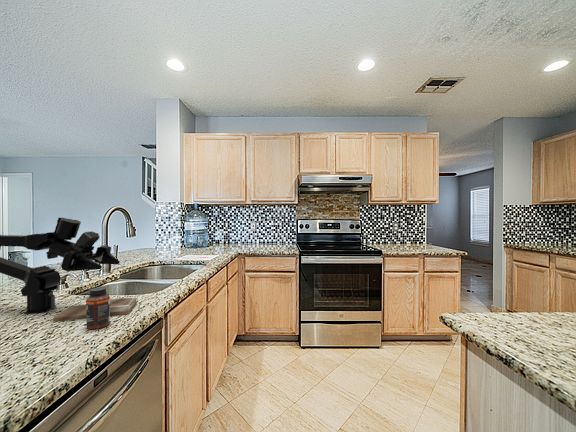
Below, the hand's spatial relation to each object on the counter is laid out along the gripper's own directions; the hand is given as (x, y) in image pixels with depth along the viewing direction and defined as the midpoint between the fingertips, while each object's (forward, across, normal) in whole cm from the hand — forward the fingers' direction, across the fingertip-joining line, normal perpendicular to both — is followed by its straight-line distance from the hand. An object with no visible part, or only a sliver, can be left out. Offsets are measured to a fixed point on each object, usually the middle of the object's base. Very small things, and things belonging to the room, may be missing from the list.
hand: (110, 265), depth 97 cm
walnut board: (+2, -1, +16) cm, 16 cm away
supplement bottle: (+10, -13, +14) cm, 22 cm away
